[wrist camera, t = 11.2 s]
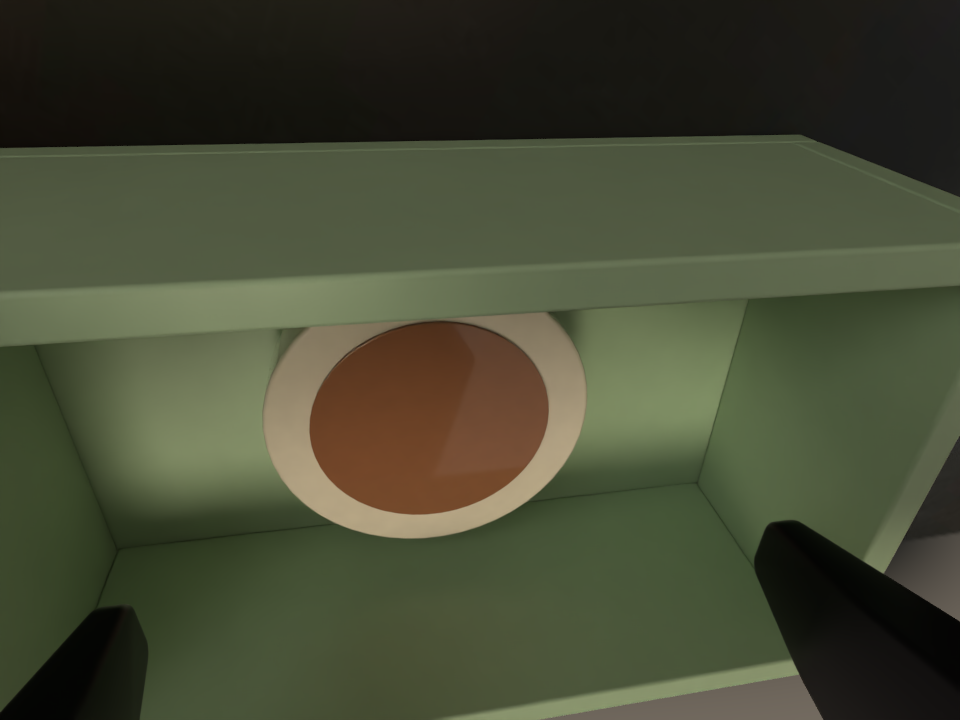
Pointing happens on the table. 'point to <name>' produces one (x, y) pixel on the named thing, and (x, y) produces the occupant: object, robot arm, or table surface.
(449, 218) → the tub
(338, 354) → the brown-topped cream cylinder
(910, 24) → the table surface
